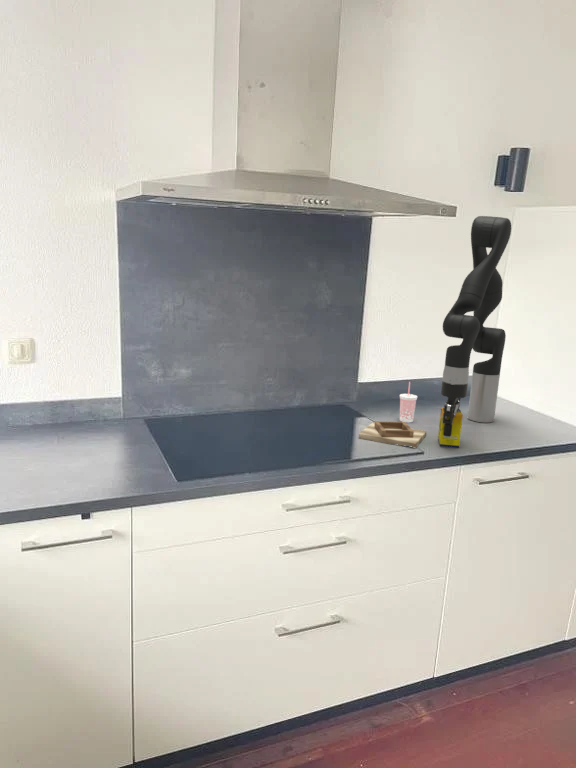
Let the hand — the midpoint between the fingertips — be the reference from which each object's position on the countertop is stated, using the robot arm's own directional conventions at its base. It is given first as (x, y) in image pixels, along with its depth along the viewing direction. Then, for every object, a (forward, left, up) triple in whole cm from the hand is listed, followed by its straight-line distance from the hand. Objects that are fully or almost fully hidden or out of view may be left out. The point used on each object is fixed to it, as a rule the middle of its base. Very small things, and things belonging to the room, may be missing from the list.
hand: (449, 432), depth 182 cm
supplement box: (0, 0, -4) cm, 4 cm away
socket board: (+2, -17, -4) cm, 18 cm away
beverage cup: (-19, -18, -4) cm, 27 cm away
